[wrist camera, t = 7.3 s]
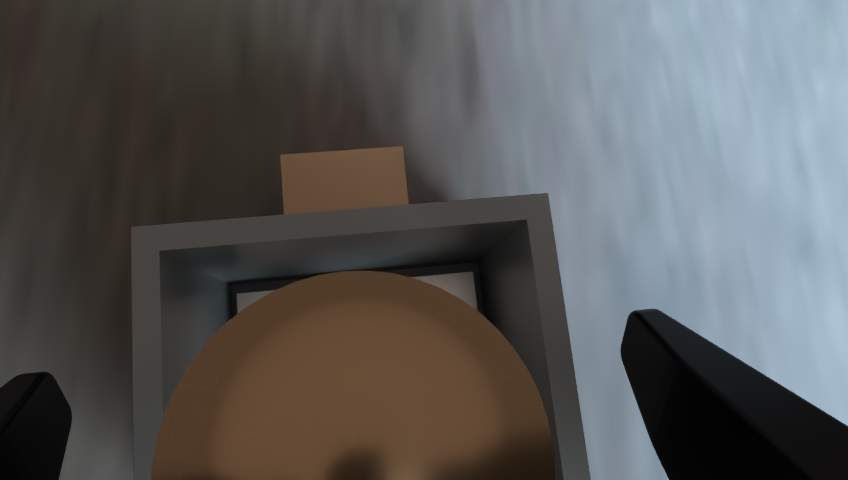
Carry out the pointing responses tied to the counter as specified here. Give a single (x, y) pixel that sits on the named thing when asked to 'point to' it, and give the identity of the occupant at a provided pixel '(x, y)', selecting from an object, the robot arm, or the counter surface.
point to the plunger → (357, 389)
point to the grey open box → (352, 251)
